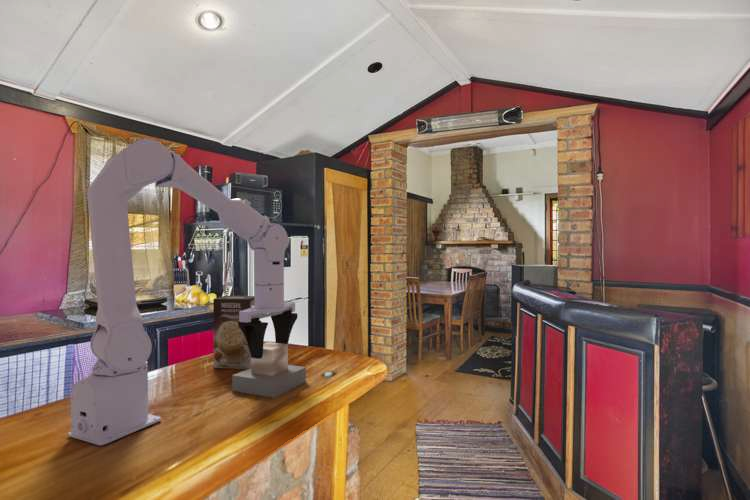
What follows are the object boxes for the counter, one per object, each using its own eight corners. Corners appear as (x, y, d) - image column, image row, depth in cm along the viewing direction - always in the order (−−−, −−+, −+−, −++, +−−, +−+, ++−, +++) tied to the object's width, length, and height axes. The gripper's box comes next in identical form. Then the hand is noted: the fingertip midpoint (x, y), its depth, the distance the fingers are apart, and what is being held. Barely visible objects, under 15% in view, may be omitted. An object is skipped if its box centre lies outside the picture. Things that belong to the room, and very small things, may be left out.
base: (274, 398, 74) (274, 381, 74) (232, 390, 78) (232, 375, 78) (305, 381, 83) (305, 367, 83) (266, 376, 87) (266, 361, 87)
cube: (272, 376, 77) (271, 349, 77) (251, 373, 80) (251, 347, 80) (288, 368, 82) (287, 344, 82) (268, 366, 84) (267, 342, 84)
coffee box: (211, 368, 93) (211, 298, 93) (224, 361, 100) (224, 295, 100) (250, 369, 92) (249, 298, 92) (261, 361, 99) (260, 295, 99)
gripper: (276, 281, 89) (276, 343, 89) (226, 286, 76) (226, 360, 76) (303, 282, 86) (303, 346, 86) (256, 288, 73) (256, 364, 73)
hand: (269, 353), depth 81 cm, fingers open, 7 cm apart
